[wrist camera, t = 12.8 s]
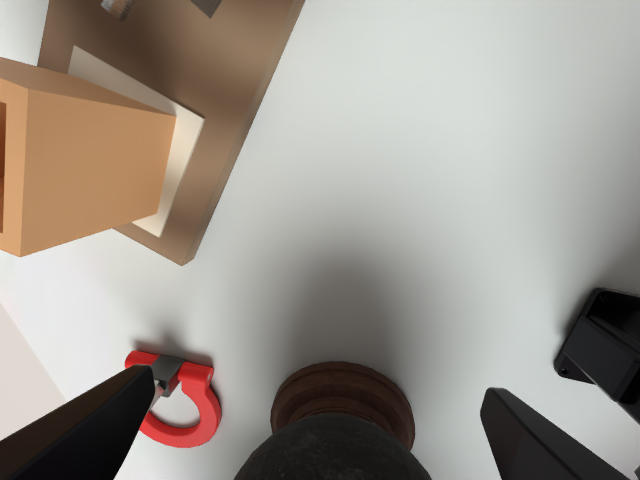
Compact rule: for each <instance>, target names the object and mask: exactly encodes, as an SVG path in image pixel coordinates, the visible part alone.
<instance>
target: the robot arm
mask: <svg viewBox="0 0 640 480" xmlns="http://www.w3.org/2000/svg"><path fill="white" fill-rule="evenodd" d="M602 295H604V297H603V298H601V299H600V297H601V296H602ZM564 368H565V369H564ZM563 369H564V370H563ZM554 370H555V371H556V372H557V374H558V375H559V376H561V377H563V378H568V379H572V380H577V381H581V382H586V383H590V384H594V385H597V386H598V387H599V388H600V389H601V390H602V391H603V392H604V393H605V394H606V395H607V396H608V397H609V398H610V399H611V400H613V401H614V402H616V403H617V404H619V405H620V406H621V407H622V408H623V409H624V410H625V411H626V412H627V413H628V414H629V415H630V416H631V417H632V418H633V419H634V420H635V421H636V422H637V423H638V424H639V425H640V295H636V294H631V293H626V292H621V291H616V290H612V289H607V288H597V289H595V290H594V291H593V292H592V293H591V295H590V297H589V299H588V301H587V303H586V305H585V307H584V309H583V311H582V312H581V314H580V316H579V318H578V320H577V322H576V324H575V326H574V328H573V330H572V332H571V334H570V336H569V338H568V340H567V342H566V344H565V346H564V348H563V349H562V351H561V353H560V355H559V357H558V359H557V361H556V363H555V365H554ZM154 396H155V382H154V375H153V369H152V367H151V366H150V365H146V364H134V365H132V366H130V367H128V368H127V369H125V370H123V371H121V372H120V373H118V374H116V375H115V376H113V377H111V378H109V379H108V380H106V381H104V382H102V383H101V384H99V385H97V386H95V387H94V388H92V389H90V390H88V391H87V392H85V393H83V394H81V395H80V396H78V397H76V398H74V399H73V400H71V401H69V402H67V403H66V404H64V405H62V406H60V407H59V408H57V409H55V410H53V411H52V412H50V413H48V414H46V415H45V416H43V417H41V418H39V419H38V420H36V421H34V422H32V423H31V424H29V425H27V426H25V427H24V428H22V429H20V430H18V431H17V432H15V433H13V434H11V435H10V436H8V437H6V438H4V439H3V440H1V441H0V480H113V479H114V478H115V476H116V474H117V473H118V471H119V469H120V467H121V465H122V464H123V462H124V460H125V458H126V456H127V454H128V452H129V450H130V448H131V446H132V444H133V441H134V439H135V437H136V435H137V433H138V431H139V429H140V426H141V424H142V422H143V420H144V418H145V416H146V414H147V411H148V409H149V407H150V405H151V403H152V401H153V398H154ZM480 417H481V421H482V424H483V427H484V430H485V433H486V436H487V439H488V441H489V444H490V447H491V450H492V453H493V456H494V459H495V462H496V465H497V467H498V470H499V473H500V476H501V479H502V480H630V479H629V478H627V477H626V476H625V475H623V474H622V473H620V472H619V471H618V470H616V469H615V468H614V467H612V466H611V465H609V464H608V463H607V462H605V461H604V460H603V459H601V458H600V457H598V456H597V455H596V454H594V453H593V452H592V451H590V450H589V449H587V448H586V447H585V446H583V445H582V444H581V443H579V442H578V441H577V440H575V439H574V438H572V437H571V436H570V435H568V434H567V433H566V432H564V431H563V430H561V429H560V428H559V427H557V426H556V425H555V424H553V423H552V422H550V421H549V420H548V419H546V418H545V417H544V416H542V415H541V414H539V413H538V412H537V411H535V410H534V409H533V408H531V407H530V406H528V405H527V404H526V403H524V402H523V401H522V400H520V399H519V398H517V397H516V396H515V395H513V394H512V393H511V392H509V391H508V390H506V389H504V388H494V387H490V388H488V389H487V390H486V393H485V396H484V400H483V403H482V407H481V411H480ZM634 472H635V474H636V476H637V477H638V479H639V480H640V466H639V467H638V468H637V469H636V470H635V471H634Z"/></svg>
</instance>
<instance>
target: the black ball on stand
mask: <svg viewBox="0 0 640 480" xmlns="http://www.w3.org/2000/svg"><path fill="white" fill-rule="evenodd" d="M270 422H271V428H272V433H273V435H272V436H270V437H269V438H268V439H267V440H266V441H265V442H264V443H262V444H261V445H260V446H259V447H258V448H257V449H256V450H255V451H254V452H253V453H252V454H251V455H250V457H249V458H248V460H247V461H246V462H245V464H244V465H243V466H242V468H241V469H240V471H239V472H238V474H237V475H236V477H235V478H234V480H432V479H431V477H430V476H429V474H428V472H427V471H426V470H425V469H424V467H423V466H422V465H421V464H420V463H419V461H418V460H417V459H416V458H415V457H414V455H413V454H412V453H411V452H410V451H411V449H412V446H413V443H414V439H415V423H414V419H413V414H412V411H411V407H410V404H409V402H408V401H407V399H406V397H405V395H404V394H403V392H402V391H401V390H400V389H399V388H398V387H397V386H396V384H395V383H393V382H392V381H391V380H389V379H388V378H387V377H386V376H384V375H382V374H381V373H379V372H377V371H375V370H373V369H371V368H368V367H365V366H362V365H359V364H355V363H349V362H323V363H317V364H313V365H310V366H308V367H305V368H302V369H301V370H299V371H297V372H296V373H294V374H292V375H291V376H290V377H289V378H288V379H287V380H286V381H285V382H284V383H283V384H282V386H281V387H280V389H279V390H278V392H277V394H276V397H275V400H274V403H273V406H272V409H271V419H270Z"/></svg>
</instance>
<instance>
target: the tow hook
mask: <svg viewBox="0 0 640 480" xmlns="http://www.w3.org/2000/svg"><path fill="white" fill-rule="evenodd" d="M134 364H146V365H150V366H151V367H152V369H153V375H154V382H155V396H154V398H153V401H152V403H151V405H150V407H149V409H148V411H147V414H146V416H145V418H144V420H143V422H142V424H141V426H140V429H139V430H140V431H141V432H142V433H144V434H145V435H147V436H148V437H150V438H152V439H153V440H155V441H157V442H160V443H162V444H165V445H168V446H173V447H178V448H190V447H195V446H200V445H202V444H204V443H205V442H207V441H209V440H210V439H211V438H212V436H213V435H214V434H215V432H216V430H217V428H218V426H219V423H220V420H221V409H220V406H219V403H218V400H217V398H216V396H215V395H214V393H213V392H212V390H211V389H210V388H209V385H210V381H211V379H212V376H213V368H211V367H207V366H202V365H198V364H193V363H189V362H187V361H186V360H182V359H178V358H174V357H169V356H165V355H161V356H158V355H154V354H149V353H145V352H140V351H136V350H134V351H132V352H131V353H130V354H129V355H128V356H127V358H126V361H125V368H128V367H130V366H132V365H134ZM180 381H182V391H183V393H185V394H186V395H187V396H189V397H190V398H191V399H192V400H193V401H194V403H195V404H196V406H197V407H198V409H199V412H200V423H199V424H197V425H196V426H194V427H191V428H175V427H171V426H169V425H166V424H164V423H162V422H161V421H159V420H158V419H156V418H155V417H154V416H153V415H152V414H151V413H150V412H149V410H150V409H151V408H152V407H153V405H154V404H155V403H156V401H157V400H158V399H159V397H160V396H163V397H169V396H170V395H171V393H172V392H173V391H174V389H175V388H176V387H177V385H178V384H179V383H180Z"/></svg>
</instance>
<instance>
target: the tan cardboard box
mask: <svg viewBox="0 0 640 480" xmlns="http://www.w3.org/2000/svg"><path fill="white" fill-rule="evenodd" d="M176 118H177V117H176V116H174V115H171V114H169V113H166V112H164V111H161V110H159V109H156V108H154V107H151V106H149V105H146V104H144V103H141V102H139V101H136V100H134V99H131V98H129V97H126V96H124V95H121V94H119V93H116V92H114V91H111V90H109V89H106V88H104V87H101V86H99V85H96V84H94V83H91V82H89V81H86V80H84V79H81V78H79V77H75V76H71V75H67V74H64V73H60V72H56V71H52V70H48V69H44V68H41V67H37V66H33V65H29V64H25V63H22V62H18V61H14V60H10V59H6V58H2V57H0V250H3V251H5V252H8V253H10V254H13V255H15V256H18V257H23V256H26V255H29V254H32V253H35V252H39V251H42V250H45V249H48V248H51V247H54V246H57V245H61V244H64V243H67V242H70V241H73V240H76V239H79V238H83V237H86V236H89V235H92V234H95V233H98V232H101V231H104V230H108V229H111V228H114V227H117V226H120V225H123V224H126V223H130V222H133V221H136V220H139V219H142V218H145V217H148V216H152V215H155V214H157V212H158V207H159V202H160V197H161V192H162V187H163V182H164V177H165V173H166V168H167V163H168V158H169V153H170V148H171V143H172V138H173V133H174V128H175V123H176Z"/></svg>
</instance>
